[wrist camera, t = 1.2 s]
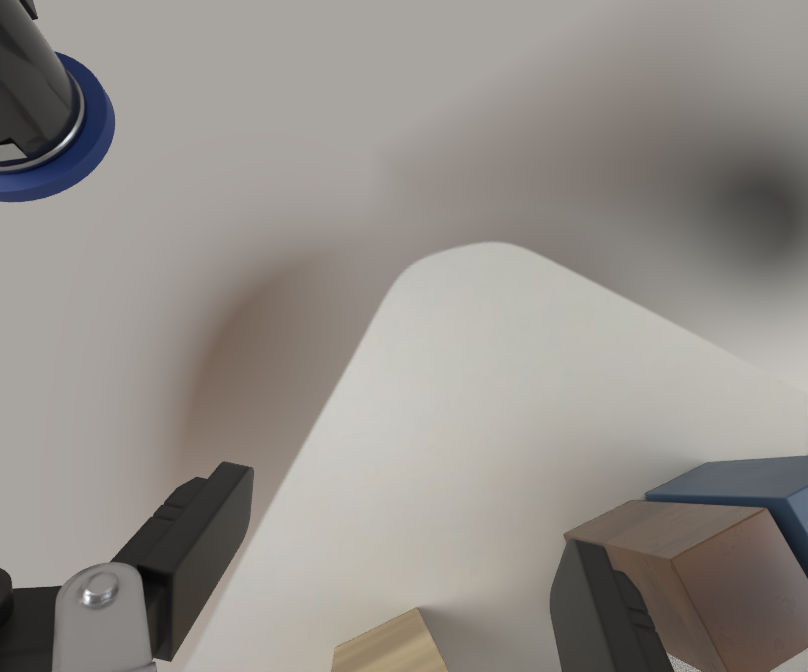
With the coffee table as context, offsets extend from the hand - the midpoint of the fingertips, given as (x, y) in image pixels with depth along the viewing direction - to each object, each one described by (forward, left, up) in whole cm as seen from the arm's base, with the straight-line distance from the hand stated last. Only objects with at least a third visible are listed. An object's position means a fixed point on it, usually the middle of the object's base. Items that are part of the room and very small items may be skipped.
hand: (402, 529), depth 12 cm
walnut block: (+8, +11, -16) cm, 21 cm away
